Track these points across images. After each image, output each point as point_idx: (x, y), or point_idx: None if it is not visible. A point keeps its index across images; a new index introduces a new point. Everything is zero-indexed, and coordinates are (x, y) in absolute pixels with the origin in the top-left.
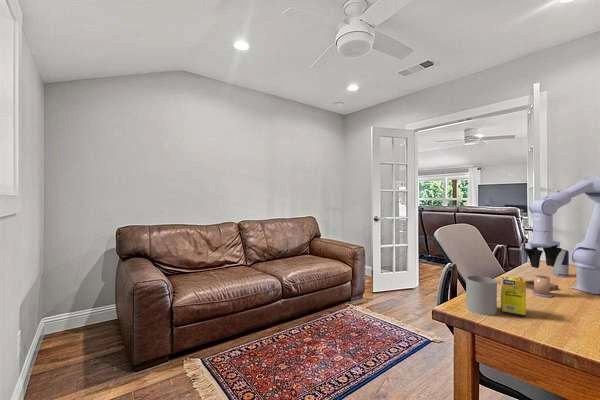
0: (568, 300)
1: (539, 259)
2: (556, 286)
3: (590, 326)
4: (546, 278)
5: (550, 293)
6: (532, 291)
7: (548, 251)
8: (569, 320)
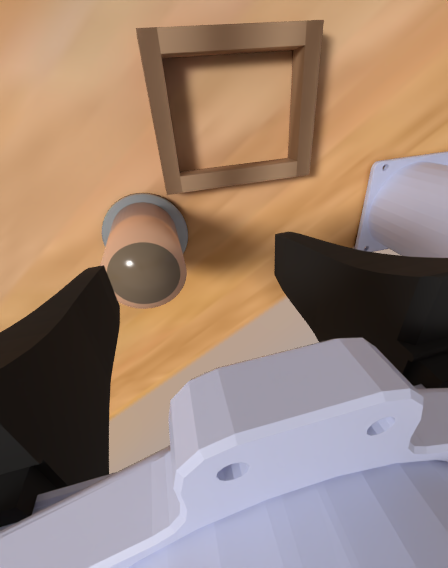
0: (192, 299)
1: (105, 381)
2: (295, 175)
3: None
4: (144, 304)
5: (182, 242)
6: (113, 206)
7: (359, 324)
8: None
